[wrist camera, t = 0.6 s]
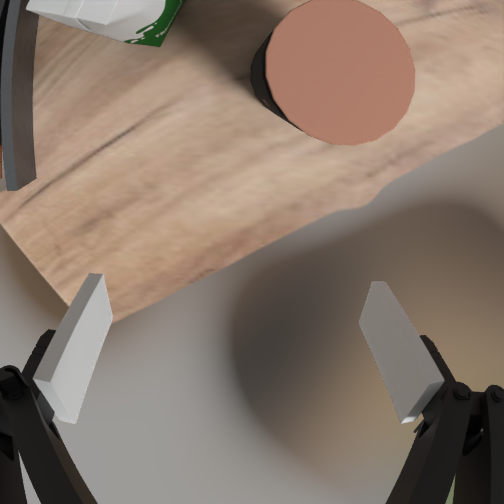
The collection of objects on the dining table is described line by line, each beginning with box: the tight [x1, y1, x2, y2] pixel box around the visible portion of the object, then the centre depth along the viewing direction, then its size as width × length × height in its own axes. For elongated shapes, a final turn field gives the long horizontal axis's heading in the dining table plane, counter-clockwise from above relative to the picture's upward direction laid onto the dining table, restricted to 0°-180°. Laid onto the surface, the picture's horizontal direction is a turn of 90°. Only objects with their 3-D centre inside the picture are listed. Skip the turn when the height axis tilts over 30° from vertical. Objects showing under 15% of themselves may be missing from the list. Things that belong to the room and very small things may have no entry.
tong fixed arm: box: [1, 0, 39, 191], centre depth 26 cm, size 32×4×5 cm, turn 174°
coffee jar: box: [251, 0, 415, 145], centre depth 25 cm, size 11×11×18 cm
